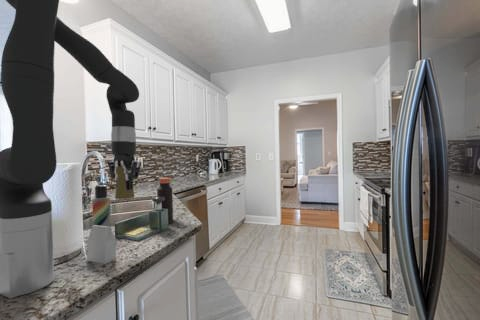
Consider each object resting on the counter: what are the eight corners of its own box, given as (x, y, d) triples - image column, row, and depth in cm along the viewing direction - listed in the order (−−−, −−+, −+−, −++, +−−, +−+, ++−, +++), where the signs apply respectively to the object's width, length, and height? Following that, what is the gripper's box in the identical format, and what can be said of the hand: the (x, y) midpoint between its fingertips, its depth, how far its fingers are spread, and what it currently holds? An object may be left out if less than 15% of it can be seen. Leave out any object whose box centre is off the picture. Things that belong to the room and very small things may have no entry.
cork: (126, 199, 76) (126, 165, 75) (110, 198, 77) (110, 165, 77) (138, 196, 82) (137, 165, 81) (123, 195, 83) (122, 165, 83)
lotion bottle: (95, 236, 88) (94, 184, 88) (112, 234, 90) (111, 183, 90) (91, 241, 83) (89, 186, 82) (109, 239, 85) (107, 185, 84)
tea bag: (105, 264, 66) (104, 229, 65) (87, 260, 68) (86, 227, 67) (115, 258, 69) (114, 225, 69) (99, 255, 71) (98, 223, 71)
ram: (159, 219, 92) (158, 199, 92) (150, 218, 94) (149, 198, 94) (167, 216, 97) (166, 196, 97) (158, 215, 99) (158, 196, 99)
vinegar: (157, 223, 104) (156, 179, 104) (158, 219, 111) (157, 177, 110) (172, 222, 106) (171, 178, 105) (173, 218, 113) (172, 177, 112)
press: (138, 241, 83) (138, 218, 83) (115, 236, 88) (114, 215, 88) (169, 227, 97) (169, 209, 97) (147, 224, 102) (147, 206, 102)
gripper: (99, 141, 78) (100, 191, 79) (129, 139, 73) (130, 193, 73) (119, 142, 85) (119, 188, 85) (147, 140, 79) (148, 190, 80)
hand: (124, 190), depth 79 cm, fingers closed on cork, 3 cm apart
